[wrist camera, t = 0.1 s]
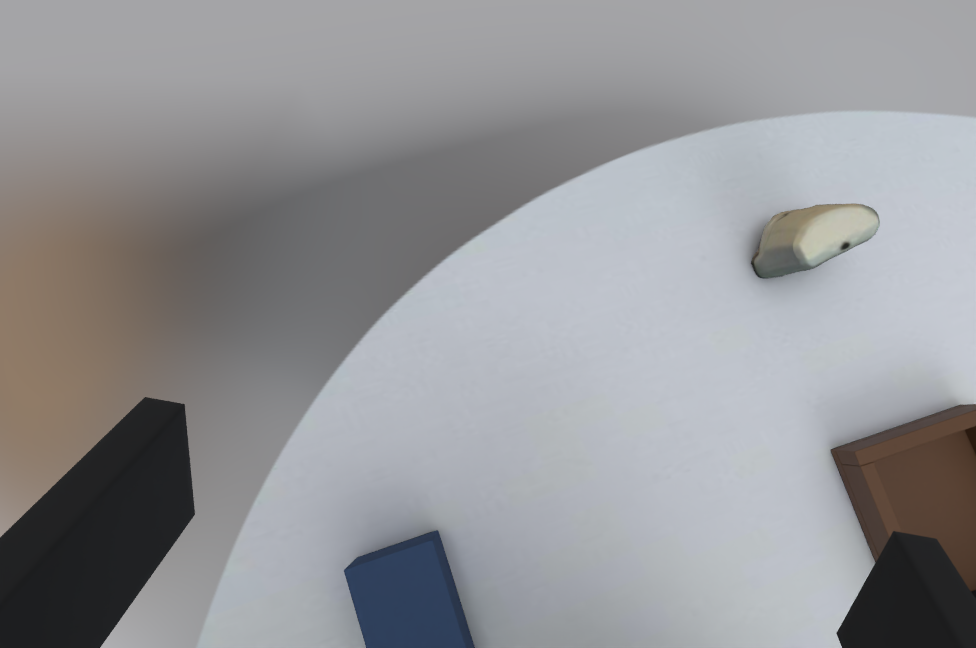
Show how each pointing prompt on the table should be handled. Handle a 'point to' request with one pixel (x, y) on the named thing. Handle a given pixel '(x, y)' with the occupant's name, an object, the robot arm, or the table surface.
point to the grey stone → (812, 237)
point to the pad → (408, 597)
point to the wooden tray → (918, 484)
